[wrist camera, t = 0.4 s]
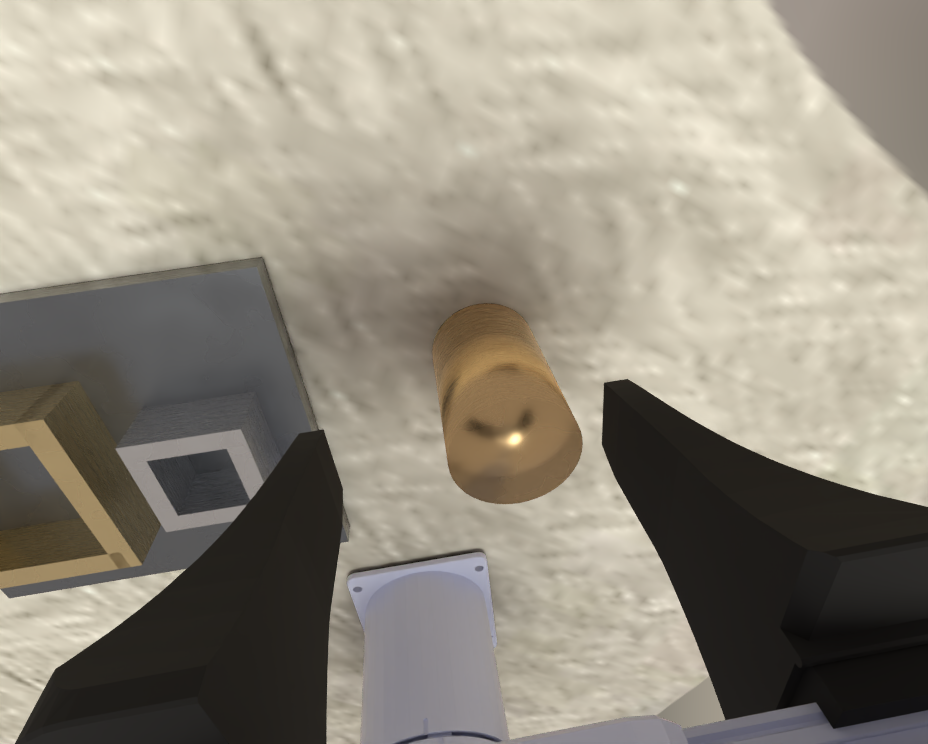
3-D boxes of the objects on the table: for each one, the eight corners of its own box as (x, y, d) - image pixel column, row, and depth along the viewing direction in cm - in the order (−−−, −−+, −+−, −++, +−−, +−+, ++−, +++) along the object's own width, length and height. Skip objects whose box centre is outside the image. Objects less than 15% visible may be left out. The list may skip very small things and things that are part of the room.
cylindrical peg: (534, 384, 24) (581, 492, 19) (439, 399, 24) (456, 513, 18) (531, 296, 22) (583, 388, 16) (425, 311, 22) (439, 411, 16)
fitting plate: (349, 526, 28) (345, 583, 25) (20, 580, 27) (-24, 646, 24) (262, 257, 20) (240, 295, 17) (-211, 323, 19) (-321, 375, 16)
